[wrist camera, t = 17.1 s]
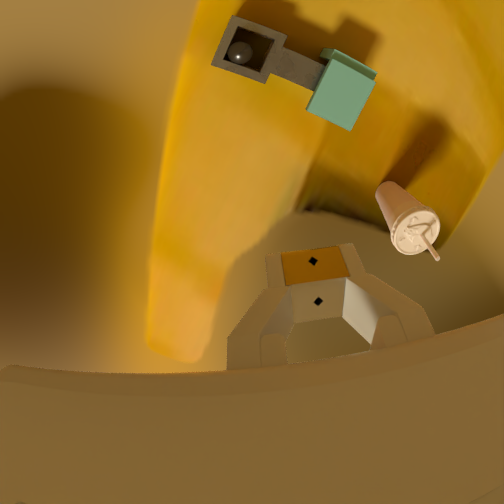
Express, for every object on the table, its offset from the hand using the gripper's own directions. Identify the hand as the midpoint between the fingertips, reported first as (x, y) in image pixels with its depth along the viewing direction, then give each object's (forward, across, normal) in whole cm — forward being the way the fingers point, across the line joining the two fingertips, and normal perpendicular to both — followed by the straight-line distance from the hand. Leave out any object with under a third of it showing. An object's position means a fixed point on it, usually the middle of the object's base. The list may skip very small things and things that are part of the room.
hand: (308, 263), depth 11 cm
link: (+27, -3, -4) cm, 28 cm away
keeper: (+27, -8, -1) cm, 28 cm away
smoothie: (+27, -16, +14) cm, 34 cm away
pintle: (+27, +1, -6) cm, 28 cm away
